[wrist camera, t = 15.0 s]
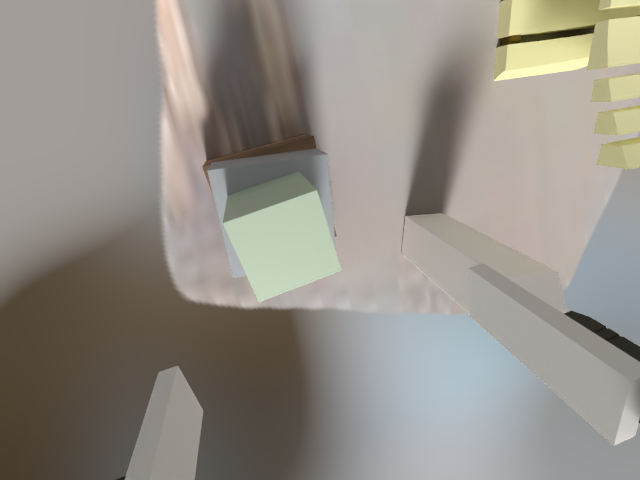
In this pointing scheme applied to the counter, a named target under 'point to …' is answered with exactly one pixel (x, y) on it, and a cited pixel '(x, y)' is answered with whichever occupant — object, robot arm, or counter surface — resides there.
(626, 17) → the slatted curved stool
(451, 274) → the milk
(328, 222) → the tower top
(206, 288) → the counter surface
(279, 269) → the sage block
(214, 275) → the counter surface
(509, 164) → the counter surface
